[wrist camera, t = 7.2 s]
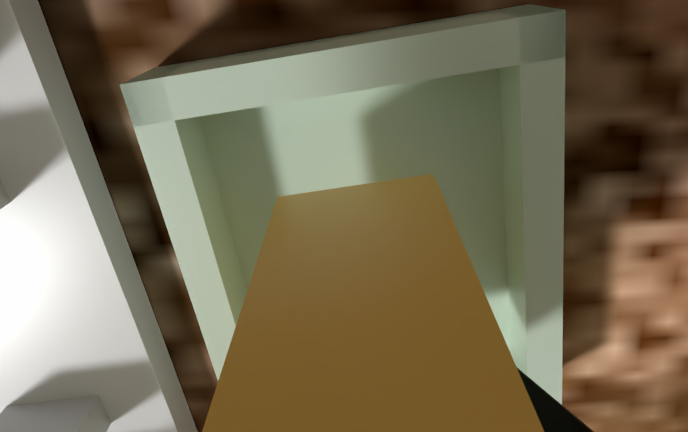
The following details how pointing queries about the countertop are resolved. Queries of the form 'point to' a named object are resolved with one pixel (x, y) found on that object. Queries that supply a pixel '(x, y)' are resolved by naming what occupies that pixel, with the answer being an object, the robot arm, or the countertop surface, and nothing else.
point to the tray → (373, 155)
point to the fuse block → (67, 264)
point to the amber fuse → (367, 323)
